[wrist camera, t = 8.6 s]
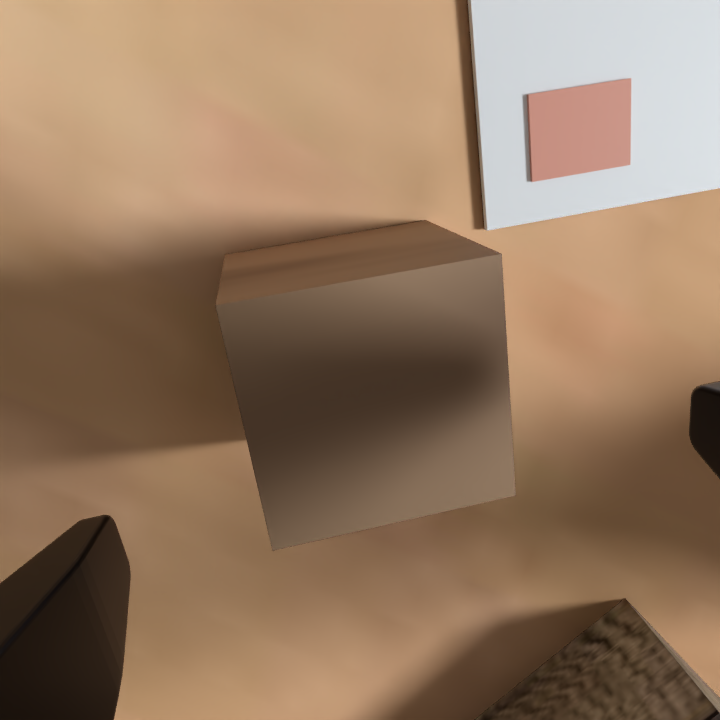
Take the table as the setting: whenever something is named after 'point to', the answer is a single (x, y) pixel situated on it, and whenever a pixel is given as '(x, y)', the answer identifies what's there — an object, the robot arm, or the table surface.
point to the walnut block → (369, 377)
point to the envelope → (593, 104)
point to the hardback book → (611, 678)
